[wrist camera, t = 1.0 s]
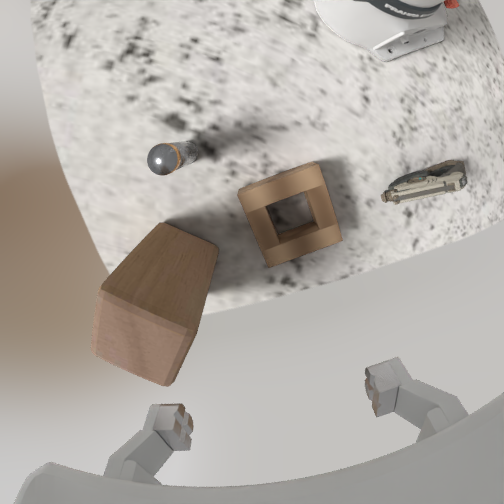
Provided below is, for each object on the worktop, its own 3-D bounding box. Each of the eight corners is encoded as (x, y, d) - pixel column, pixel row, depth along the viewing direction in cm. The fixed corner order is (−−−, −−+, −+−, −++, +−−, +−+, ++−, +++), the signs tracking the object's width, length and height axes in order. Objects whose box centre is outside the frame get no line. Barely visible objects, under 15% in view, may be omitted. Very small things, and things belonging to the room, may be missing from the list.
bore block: (312, 161, 37) (318, 164, 33) (335, 230, 41) (342, 240, 37) (238, 189, 38) (237, 195, 35) (267, 255, 42) (268, 267, 38)
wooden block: (221, 245, 42) (198, 332, 23) (198, 296, 45) (170, 392, 27) (160, 218, 40) (95, 285, 22) (142, 272, 43) (87, 355, 25)
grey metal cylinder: (192, 137, 35) (169, 137, 25) (202, 158, 37) (182, 167, 26) (171, 147, 36) (142, 152, 26) (180, 168, 37) (154, 180, 27)
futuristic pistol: (379, 174, 42) (379, 195, 34) (459, 156, 34) (477, 173, 26) (383, 188, 43) (383, 211, 35) (462, 170, 34) (480, 191, 27)
